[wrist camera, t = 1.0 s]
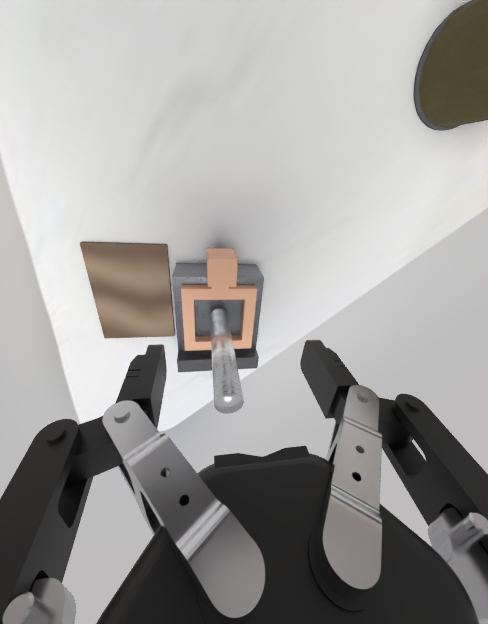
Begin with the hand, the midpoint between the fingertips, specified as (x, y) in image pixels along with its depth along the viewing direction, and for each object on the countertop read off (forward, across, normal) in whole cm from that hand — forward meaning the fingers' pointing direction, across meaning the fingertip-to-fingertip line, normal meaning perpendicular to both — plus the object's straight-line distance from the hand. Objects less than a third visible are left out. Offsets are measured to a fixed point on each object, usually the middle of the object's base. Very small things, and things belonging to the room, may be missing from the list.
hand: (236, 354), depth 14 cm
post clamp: (+22, 0, +10) cm, 24 cm away
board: (+22, +11, +7) cm, 25 cm away
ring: (+17, 0, +5) cm, 18 cm away
